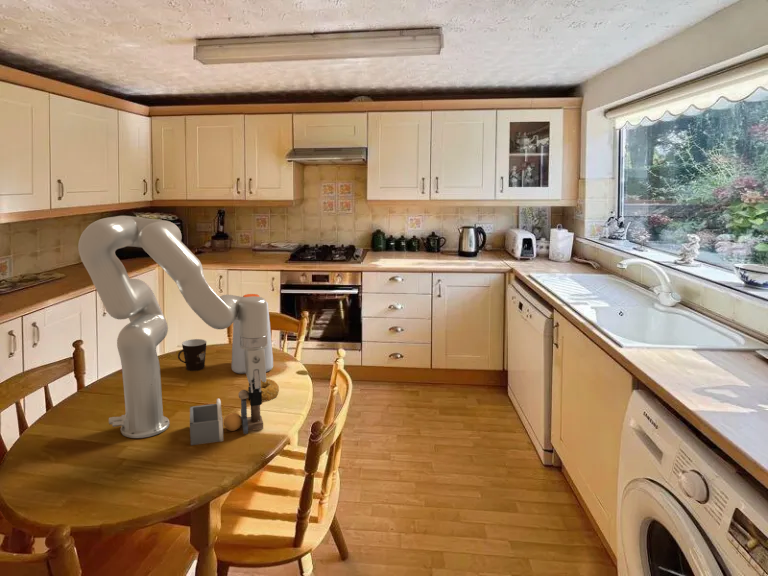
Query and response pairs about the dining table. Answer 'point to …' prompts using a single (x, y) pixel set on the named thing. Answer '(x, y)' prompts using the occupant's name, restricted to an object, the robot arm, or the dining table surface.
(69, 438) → the dining table surface
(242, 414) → the striker
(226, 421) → the ball
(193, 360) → the coffee mug
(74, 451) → the dining table surface
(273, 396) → the bagel
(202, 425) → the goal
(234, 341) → the plastic bottle
